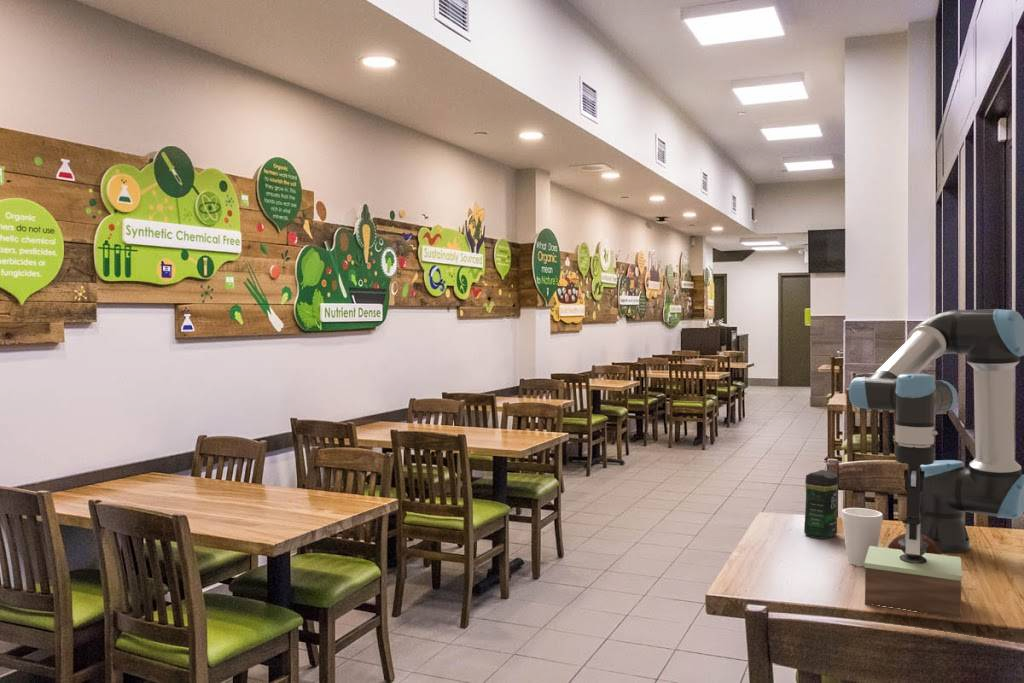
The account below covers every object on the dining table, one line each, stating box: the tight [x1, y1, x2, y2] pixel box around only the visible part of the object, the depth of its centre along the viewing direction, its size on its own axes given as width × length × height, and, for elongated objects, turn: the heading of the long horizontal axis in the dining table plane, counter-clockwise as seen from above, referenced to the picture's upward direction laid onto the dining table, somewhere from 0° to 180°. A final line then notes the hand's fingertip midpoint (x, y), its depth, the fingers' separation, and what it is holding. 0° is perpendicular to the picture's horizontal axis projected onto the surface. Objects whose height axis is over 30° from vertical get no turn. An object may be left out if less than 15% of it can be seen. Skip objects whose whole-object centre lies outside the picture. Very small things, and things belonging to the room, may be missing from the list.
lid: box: [863, 546, 963, 582], centre depth 172 cm, size 15×18×2 cm
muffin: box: [887, 533, 943, 555], centre depth 188 cm, size 12×11×10 cm
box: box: [864, 567, 962, 620], centre depth 171 cm, size 14×18×8 cm
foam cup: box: [841, 507, 884, 567], centre depth 198 cm, size 10×9×13 cm
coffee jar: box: [803, 469, 839, 539], centre depth 224 cm, size 10×8×19 cm
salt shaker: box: [898, 511, 928, 564], centre depth 170 cm, size 6×6×12 cm
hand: (913, 549), depth 171 cm, fingers open, 7 cm apart
